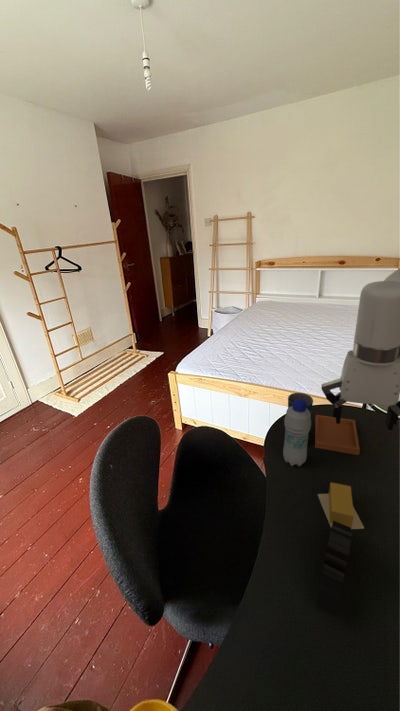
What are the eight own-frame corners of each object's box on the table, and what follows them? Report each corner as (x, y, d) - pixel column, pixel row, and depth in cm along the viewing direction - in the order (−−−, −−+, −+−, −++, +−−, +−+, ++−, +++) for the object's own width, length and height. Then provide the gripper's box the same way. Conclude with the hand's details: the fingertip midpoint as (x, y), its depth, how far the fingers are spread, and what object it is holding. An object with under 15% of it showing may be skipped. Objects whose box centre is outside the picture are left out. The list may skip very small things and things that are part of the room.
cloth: (346, 493, 73) (346, 492, 73) (364, 528, 65) (364, 527, 65) (317, 494, 73) (317, 494, 73) (331, 530, 65) (331, 529, 65)
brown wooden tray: (315, 419, 99) (315, 414, 98) (353, 425, 95) (354, 420, 94) (314, 447, 87) (315, 442, 87) (358, 455, 84) (359, 449, 83)
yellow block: (328, 493, 73) (330, 482, 71) (348, 497, 71) (350, 486, 70) (329, 522, 66) (331, 510, 64) (351, 528, 65) (354, 516, 63)
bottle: (309, 456, 85) (316, 397, 76) (303, 472, 79) (310, 412, 71) (285, 448, 88) (289, 391, 79) (278, 464, 83) (282, 405, 74)
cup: (285, 446, 89) (288, 405, 82) (285, 431, 94) (287, 391, 88) (309, 449, 87) (314, 407, 80) (307, 433, 93) (312, 393, 86)
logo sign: (332, 527, 66) (338, 492, 61) (349, 534, 64) (357, 498, 59) (313, 613, 52) (320, 577, 47) (335, 625, 50) (344, 589, 45)
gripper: (424, 343, 56) (405, 417, 63) (324, 339, 61) (318, 407, 69) (438, 362, 49) (415, 441, 57) (325, 356, 55) (318, 428, 63)
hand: (362, 422), depth 63 cm, fingers open, 9 cm apart
